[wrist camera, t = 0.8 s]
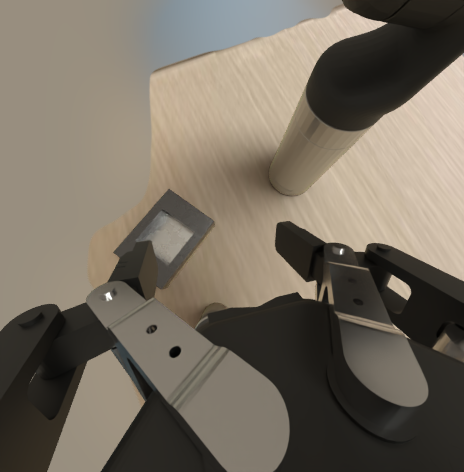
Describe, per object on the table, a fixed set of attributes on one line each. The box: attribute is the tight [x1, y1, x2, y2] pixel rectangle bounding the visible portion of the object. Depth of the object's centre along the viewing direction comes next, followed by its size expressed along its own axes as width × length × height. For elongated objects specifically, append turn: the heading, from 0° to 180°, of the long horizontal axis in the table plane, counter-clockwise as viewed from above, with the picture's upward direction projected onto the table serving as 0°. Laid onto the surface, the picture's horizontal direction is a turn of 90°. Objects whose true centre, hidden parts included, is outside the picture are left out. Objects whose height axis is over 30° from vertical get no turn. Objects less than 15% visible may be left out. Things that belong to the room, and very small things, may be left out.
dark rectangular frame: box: [113, 189, 215, 289], centre depth 32 cm, size 14×10×4 cm
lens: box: [195, 303, 227, 330], centre depth 26 cm, size 5×5×12 cm
